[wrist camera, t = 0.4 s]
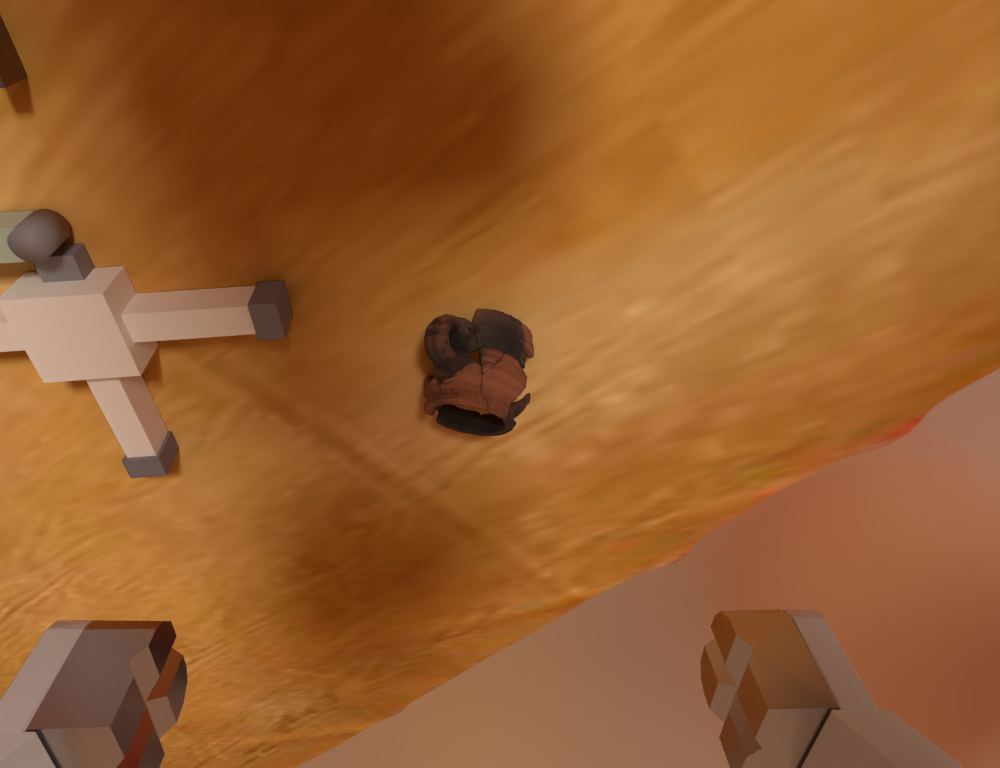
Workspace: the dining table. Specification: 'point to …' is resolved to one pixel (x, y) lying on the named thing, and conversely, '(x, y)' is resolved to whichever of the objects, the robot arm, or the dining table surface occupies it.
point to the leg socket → (9, 60)
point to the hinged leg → (31, 235)
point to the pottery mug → (477, 371)
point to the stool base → (124, 337)
